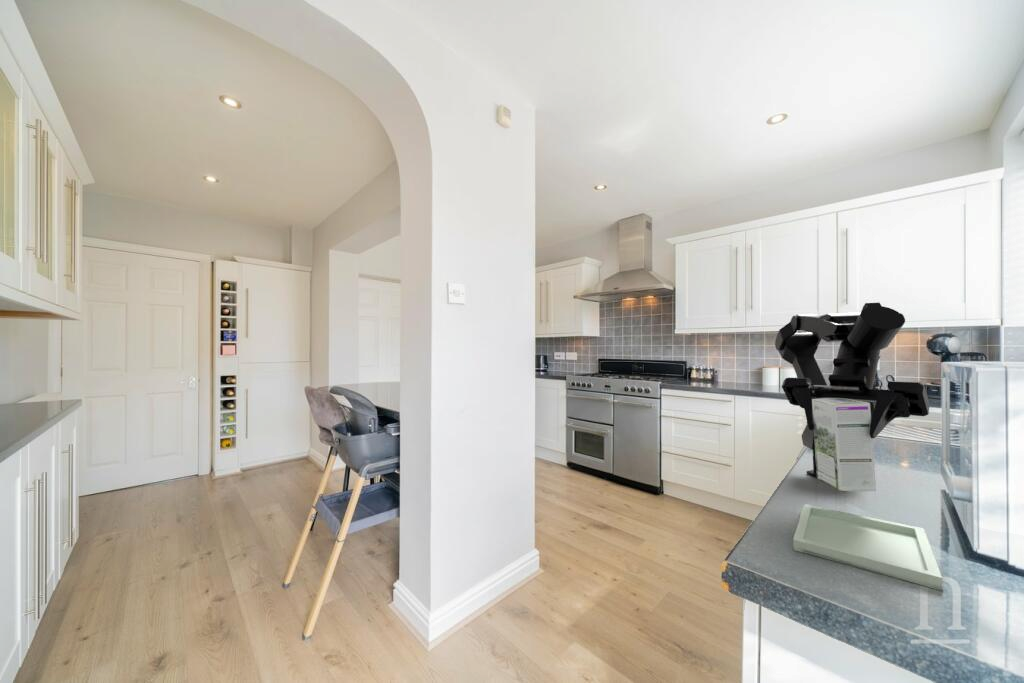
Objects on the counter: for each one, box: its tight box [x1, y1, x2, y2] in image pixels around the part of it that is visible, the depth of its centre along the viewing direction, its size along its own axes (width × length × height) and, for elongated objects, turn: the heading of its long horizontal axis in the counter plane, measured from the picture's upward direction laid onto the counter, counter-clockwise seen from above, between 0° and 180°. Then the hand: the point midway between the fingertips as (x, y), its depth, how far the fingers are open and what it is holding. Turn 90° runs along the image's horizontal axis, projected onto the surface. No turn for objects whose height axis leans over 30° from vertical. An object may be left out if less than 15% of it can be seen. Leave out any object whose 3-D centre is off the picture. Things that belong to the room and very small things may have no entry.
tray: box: [792, 503, 944, 591], centre depth 54 cm, size 16×14×2 cm
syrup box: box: [812, 398, 877, 492], centre depth 63 cm, size 6×6×14 cm
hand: (839, 432), depth 63 cm, fingers closed on syrup box, 8 cm apart
